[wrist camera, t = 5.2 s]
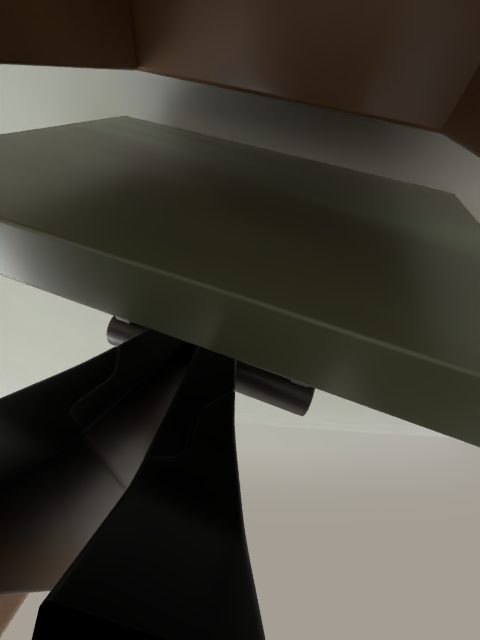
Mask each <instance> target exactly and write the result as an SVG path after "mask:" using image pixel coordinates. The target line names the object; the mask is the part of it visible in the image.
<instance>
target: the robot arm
mask: <svg viewBox="0 0 480 640" xmlns="http://www.w3.org/2000/svg"><path fill="white" fill-rule="evenodd" d="M235 379H236V359H233V358H230V357H228V356H225V355H222V354H219V353H216V352H214V351H211V350H208V349H205V348H203V347H200V346H197V345H194V344H191V343H189V342H186V341H183V340H180V339H177V338H175V337H172V336H169V335H166V334H164V333H161V332H158V331H155V330H152V329H148V330H146V331H144V332H142V333H140V334H138V335H136V336H135V337H133V338H131V339H129V340H127V341H125V342H123V343H121V344H119V345H118V347H116V346H115V347H113V348H111V349H109V350H108V351H106V352H104V353H102V354H100V355H98V356H96V357H94V358H92V359H90V360H88V361H86V362H84V363H81V364H79V365H77V366H75V367H72V368H70V369H68V370H66V371H64V372H61V373H59V374H57V375H54V376H52V377H50V378H47V379H45V380H42V381H40V382H38V383H35V384H33V385H31V386H28V387H26V388H24V389H21V390H19V391H17V392H14V393H12V394H9V395H7V396H5V397H2V398H0V637H1V636H2V634H3V633H4V631H5V630H6V628H7V627H8V625H9V623H10V621H11V620H12V619H13V617H14V616H15V614H16V613H17V611H18V609H19V608H20V606H21V605H22V603H23V602H24V600H25V599H26V597H27V595H28V594H29V593H31V592H40V591H41V592H42V591H51V592H50V593H49V594H48V596H47V597H46V598H45V600H44V601H43V602H42V604H41V605H40V607H39V611H38V615H37V619H36V623H35V628H34V632H33V637H32V640H265V636H264V630H263V625H262V620H261V615H260V609H259V604H258V599H257V594H256V589H255V584H254V579H253V574H252V569H251V564H250V558H249V553H248V547H247V542H246V535H245V528H244V522H243V513H242V503H241V493H240V482H239V472H238V462H237V452H236V440H235V426H234V415H235Z"/></svg>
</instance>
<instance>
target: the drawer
mask: <svg viewBox="0 0 480 640" xmlns="http://www.w3.org/2000/svg"><path fill="white" fill-rule="evenodd" d="M0 64H11V65H32V66H53V67H74V68H95V69H117V70H138V71H143V72H148V73H153V74H157V75H162V76H167V77H172V78H177V79H182V80H186V81H191V82H196V83H201V84H206V85H210V86H215V87H220V88H225V89H230V90H234V91H239V92H244V93H249V94H254V95H258V96H263V97H268V98H273V99H278V100H283V101H287V102H292V103H297V104H302V105H307V106H311V107H316V108H321V109H326V110H331V111H335V112H340V113H345V114H350V115H355V116H359V117H364V118H369V119H374V120H379V121H384V122H388V123H393V124H398V125H403V126H408V127H412V128H417V129H422V130H427V131H432V132H436V133H441V134H443V135H445V136H446V137H448V138H449V139H451V140H453V141H454V142H456V143H457V144H459V145H461V146H462V147H464V148H465V149H467V150H468V151H470V152H472V153H473V154H475V155H476V156H478V157H480V0H0ZM0 275H2V276H5V277H8V278H11V279H13V280H16V281H19V282H22V283H25V284H27V285H30V286H33V287H36V288H38V289H41V290H44V291H47V292H50V293H52V294H55V295H58V296H61V297H63V298H66V299H69V300H72V301H75V302H77V303H80V304H83V305H86V306H88V307H91V308H94V309H97V310H100V311H102V312H105V313H108V314H111V315H114V316H113V317H112V319H111V320H110V323H109V325H108V328H107V340H108V342H109V343H110V344H112V345H114V346H117V347H118V345H119V344H121V343H123V342H125V341H127V340H129V339H131V338H133V337H135V336H136V335H138V334H140V333H142V332H144V331H146V330H148V329H152V330H155V331H158V332H161V333H164V334H166V335H169V336H172V337H175V338H177V339H180V340H183V341H186V342H189V343H191V344H194V345H197V346H200V347H203V348H205V349H208V350H211V351H214V352H216V353H219V354H222V355H225V356H228V357H230V358H233V359H236V379H235V391H236V392H239V393H241V394H244V395H247V396H249V397H252V398H255V399H257V400H260V401H263V402H265V403H268V404H271V405H273V406H276V407H279V408H281V409H284V410H286V411H289V412H292V413H294V414H297V415H300V416H304V415H305V414H306V412H307V411H308V409H309V406H310V404H311V401H312V398H313V395H314V391H315V388H317V389H319V390H322V391H325V392H328V393H330V394H333V395H336V396H339V397H342V398H344V399H347V400H350V401H353V402H355V403H358V404H361V405H364V406H367V407H369V408H372V409H375V410H378V411H380V412H383V413H386V414H389V415H392V416H394V417H397V418H400V419H403V420H405V421H408V422H411V423H414V424H417V425H419V426H422V427H425V428H428V429H431V430H433V431H436V432H439V433H442V434H444V435H447V436H450V437H453V438H456V439H459V440H461V441H464V442H467V443H470V444H472V445H475V446H478V447H480V224H479V223H478V222H477V220H476V219H475V218H474V217H473V216H472V214H471V213H470V212H469V211H468V210H467V209H466V207H465V206H464V205H463V204H462V203H461V202H460V200H459V199H458V198H457V197H456V196H455V195H454V194H452V193H448V192H444V191H440V190H435V189H431V188H427V187H423V186H419V185H414V184H410V183H406V182H402V181H397V180H393V179H389V178H385V177H381V176H376V175H372V174H368V173H364V172H360V171H355V170H351V169H347V168H343V167H338V166H334V165H330V164H326V163H322V162H317V161H313V160H309V159H305V158H300V157H296V156H292V155H288V154H284V153H279V152H275V151H271V150H267V149H262V148H258V147H254V146H250V145H246V144H241V143H237V142H233V141H229V140H224V139H220V138H216V137H212V136H208V135H203V134H199V133H195V132H191V131H186V130H182V129H178V128H174V127H170V126H165V125H161V124H157V123H153V122H148V121H144V120H140V119H136V118H132V117H127V116H121V117H114V118H107V119H101V120H94V121H87V122H81V123H74V124H67V125H61V126H54V127H47V128H41V129H34V130H27V131H21V132H14V133H7V134H1V135H0Z"/></svg>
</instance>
